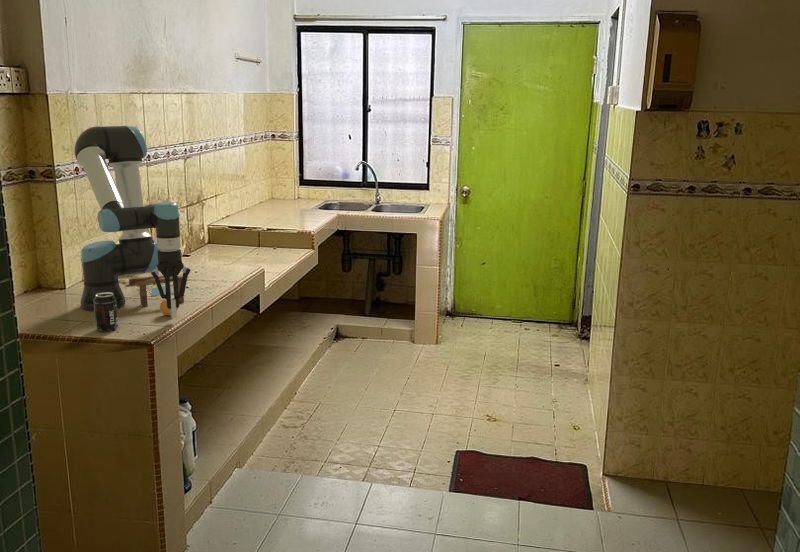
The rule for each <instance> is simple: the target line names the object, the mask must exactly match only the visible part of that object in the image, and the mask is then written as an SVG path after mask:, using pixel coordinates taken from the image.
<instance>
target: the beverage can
mask: <svg viewBox="0 0 800 552" xmlns="http://www.w3.org/2000/svg"><path fill="white" fill-rule="evenodd" d="M93 312H94V320H95V328H96V330H97V331H99V332H103V331H107V332H112V331H115V330H116V329H117V328H118V327H119V317H118V308H117V304H116V297H115V296H114V295H113V293H112V292H102V293H97V294H95V298H94V311H93ZM114 329H115V330H114ZM111 330H112V331H111Z"/></svg>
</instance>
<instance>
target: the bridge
mask: <svg viewBox="0 0 800 552" xmlns="http://www.w3.org/2000/svg"><path fill="white" fill-rule="evenodd" d="M182 276H183V275H178V292H180V287H181V281H182ZM159 280H160V283H161V284H162V283H165V277H160V278H159ZM171 282H172V283H173V277H172V276H171V277H170V283H171ZM149 284H156V281H155V278H150V279H139V285H138V287H139V289H140V293H139V299H140V306H141V305H142V306H147V307H148V297H147V291H146V289H147V285H149ZM179 302H183V303H185V295H184V296H183V297H180V298H179ZM142 306H141V307H142Z"/></svg>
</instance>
